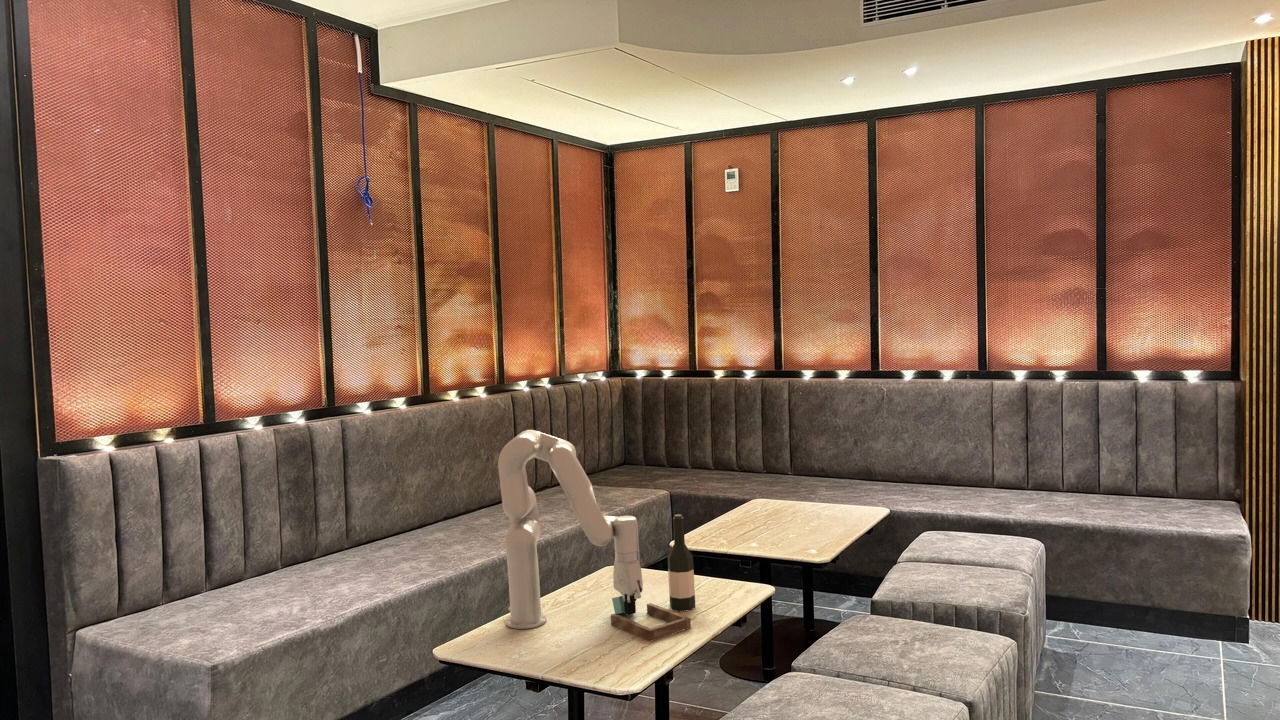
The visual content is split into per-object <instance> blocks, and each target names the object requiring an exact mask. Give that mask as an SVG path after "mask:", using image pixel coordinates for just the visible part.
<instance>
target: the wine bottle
mask: <svg viewBox="0 0 1280 720" xmlns="http://www.w3.org/2000/svg"><path fill="white" fill-rule="evenodd" d="M672 522H673V523H672V524H673V542H674V544H673V545H672V547H671V548H670V550H669V552H668V555H667V569H668V570H667V571H668V572H667V573H668V575H667V576H668V592H669V607H671V608H670V609H671V611H675V610H677V611H676V612H680V611H681V612H687V611H686V610H690V611H692V610H694V609H695V608H696V591H695V588H696V587H695V573H694V572H695V571H694V568H695V567H694V556H693V553H691V551H690V549H689V548H688V546H687V545H686V541H685V527H684V526H685V521H684V516H683V515H682V514H679V513H678V514H674V517H673V518H672ZM693 608H694V609H693Z"/></svg>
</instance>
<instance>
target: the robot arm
mask: <svg viewBox="0 0 1280 720" xmlns="http://www.w3.org/2000/svg"><path fill="white" fill-rule="evenodd" d="M533 458H535V459H538V460H541V461H543V462H547V463H548V464H549V467H550V469H551V470H552V472H553V475H555V478H556V479H557V481H558V482H559V485H560V487H561V488H562V490H563V492H564V493H565V495H566V497H567V499H568V502H569V504H570V506H571V508H572V510H573V512H574V515H575V517H576V519H577V521H578V523H579V525H580V527H581V529H582V530H583V532H584V534H585V536H586V537H587V539H588V540H589V541H590V543H591V544H592V545H594V546H597V547H603V546H606V545H608V544H609V543H610V541H612V539H614V540H613V541H614V554H615V555H614V556H615V557H614V562H613V570H612V571H613V573H612V574H613V575H612V576H613V577H612V578H613V579H612V580H613V589H614V590H615V591H617V592H619V594H621V596H622V597H623V601H625V602H624V609H625V612H624V614H625V615H626V616H630V615H631V616H632V615H634V614H636V613H637V609H636V608H637V607H636V601H637V599H641V598H642V595H641V593H643V590H644V589H643V588H644V587H643V586H644V585H643V582H644V581H643V575H642V567H641V564H640V563H641V562H640V547H639V543H640V542H639V530H638V529H639V527H638V524H639V523H638V519H637V518H636V517H635V516H633V515H620V516H613V515H612V516H611V515H604V514H603V513H602V511H601V509H600V507H599V505H598V503H597V500H596V497H595V493H594V488H593V485H592V482H591V481H590V479H589V477H588V475H587V474H586V472H585V470H584V468H583V467H582V465H581V463H580V461H579V459H578V458H577V450H576V448H575V445H574V444H572V443H571V442H570V441H568V440H565V439H562V438H559V437H556V436H553V435H551V434H546V433H543V432H541V431H538V430H535V429H526V430H523V431H521V432H520V433H519V434H517V435H516V436H515V437H513V438H512V439H511V440H510V441H508V442H507V444H505V445H504V447H503V448H502V449H501V451H500V453H499V456H498V462H497V463H498V464H497V466H498V475H499V477H498V478H499V486H500V494H501V504H502V510H503V512H504V514H505V515H506V516H507V518H509V525H510V527H509V529H508V530H507V532H506V535H505V539H504V549H505V555H506V562H507V564H506V565H507V575H508V577H507V578H508V590H509V591H508V593H509V606H508V608H507V609H508V611H509V612H510V616H509V617H507V619H506V620H505V625H506V626H507V627H509V628H511V629H517V630H525V629H527V630H528V629H534V628H537V627H540V626H542V625H544V624H545V623H546V622H547V616H546V614H544V613H542V607H541V587H540V574H539V573H540V571H539V557H538V549H537V542H538V540H539V538H540V535H541V524H540V517H539V510H538V509H539V508H538V503H537V502H538V501H537V497H536V493H535V492H534V490H533V488H532V487H531V486H530V485H529V483H528V475H527V471H526V465H527V463H528V461H531V460H532V459H533Z"/></svg>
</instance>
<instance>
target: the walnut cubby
mask: <svg viewBox="0 0 1280 720" xmlns="http://www.w3.org/2000/svg"><path fill="white" fill-rule="evenodd" d="M646 613H647V614H648V615H651V616H653V617H655V616H656V618H658V619H661V620H662V621H665V620H666V622H667V623H663V624H660V625H657V626H654V627H648V626H645V625H644V624H641V623H638V622H636V621H634V620H631V619H628V618H626V617H624V616H623V615H622V616H621V615H619V614H615V613H611V614H610V624H611V626H614V627H616V628H619V629H621V630H623V631H625V632H627V633H630V634H633V635H635V636H637V637H639V638H642V639H644V640H646V641H649V642H653V641H655V639H656V640H658V638H659V639H662V638H664V636H665V637H667V635H668V636H670V634H671V635H673V634H672V633H674V634H676V633H675V632H677V633H679V632H678V631H680V632H682V631H681V630H683V629H686V630H688V629H687V628H689V629H691V628H692V625H691V623H692V622H691V617H688V616H687V615H683V614H681V613H678V612H677V611H674V610H670V609H667V608H665V607H663V606H659V605H657V604H654V603H652V602H649V603H646ZM690 627H691V628H690ZM683 631H684V630H683ZM661 637H662V638H661Z"/></svg>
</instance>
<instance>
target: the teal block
mask: <svg viewBox="0 0 1280 720" xmlns="http://www.w3.org/2000/svg"><path fill="white" fill-rule="evenodd" d="M611 601H612V605H613V610H614V614H617V615H619V614H625V609H624V602H625V601H623V597H622V595H620V596H615V597H612V598H611Z"/></svg>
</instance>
